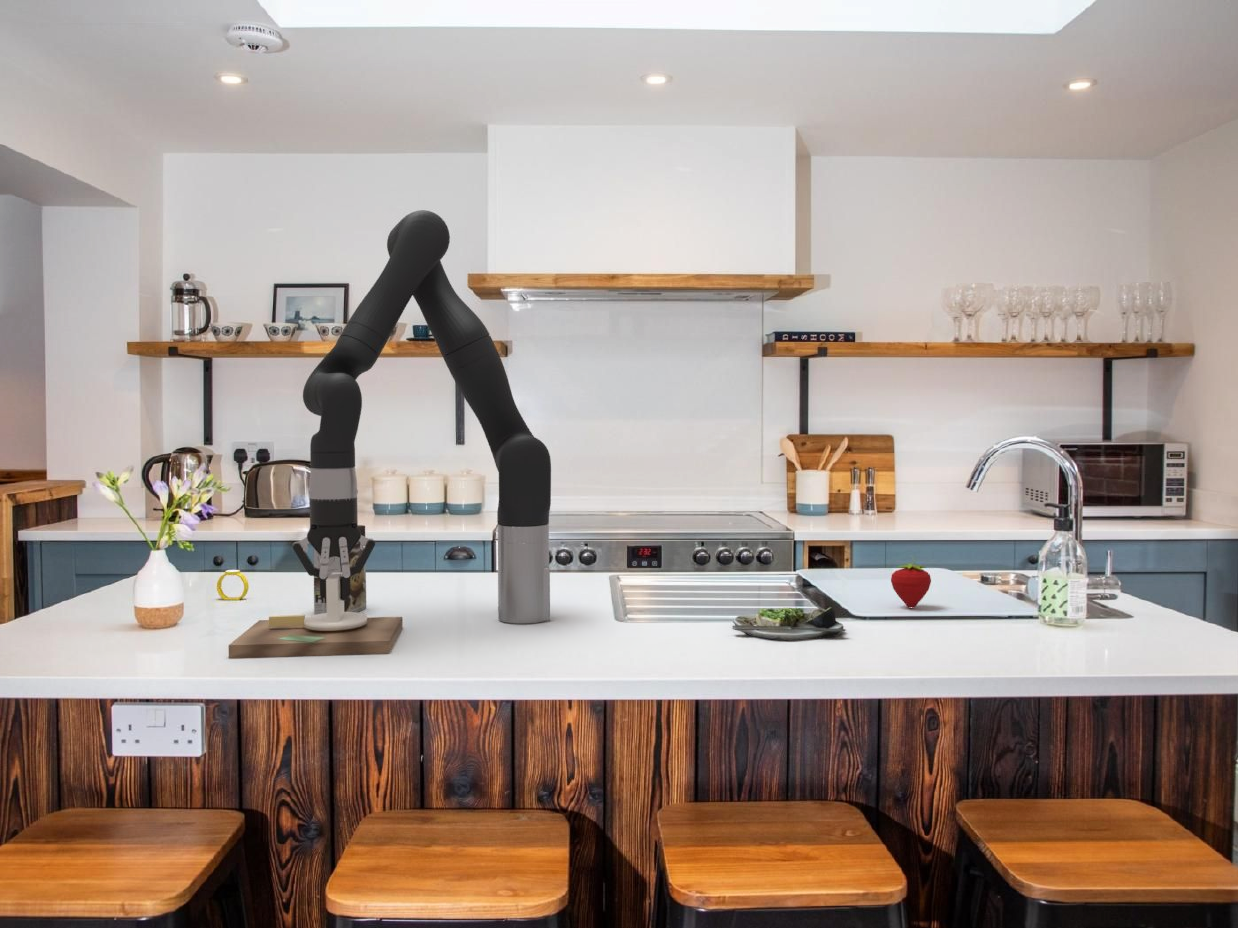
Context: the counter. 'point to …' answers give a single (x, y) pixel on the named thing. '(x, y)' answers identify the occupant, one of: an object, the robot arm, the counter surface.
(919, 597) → the strawberry
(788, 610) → the salad plate
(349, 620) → the dial knob
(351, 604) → the coffee box
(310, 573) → the robot arm
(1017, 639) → the counter surface
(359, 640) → the dial board
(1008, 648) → the counter surface
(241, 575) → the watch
